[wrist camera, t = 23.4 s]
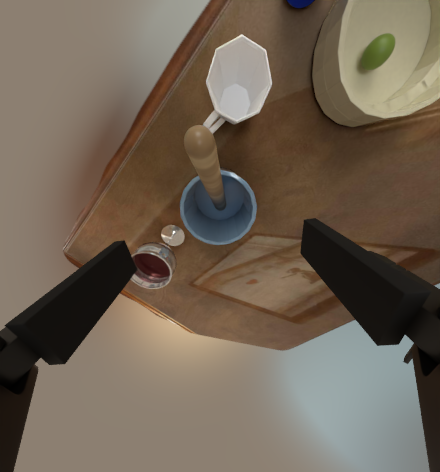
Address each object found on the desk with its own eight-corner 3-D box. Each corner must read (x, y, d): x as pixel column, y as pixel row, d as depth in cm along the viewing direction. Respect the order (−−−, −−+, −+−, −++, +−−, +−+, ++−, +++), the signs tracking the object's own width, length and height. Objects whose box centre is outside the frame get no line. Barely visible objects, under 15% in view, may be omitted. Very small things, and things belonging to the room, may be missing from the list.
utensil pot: (187, 171, 28) (170, 176, 19) (244, 163, 27) (255, 164, 18) (198, 223, 32) (188, 248, 23) (247, 217, 31) (258, 240, 22)
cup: (266, 107, 24) (286, 83, 16) (219, 158, 27) (217, 157, 19) (236, 61, 22) (243, 10, 14) (188, 122, 25) (174, 106, 17)
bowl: (318, -28, 18) (359, -109, 13) (472, -63, 17) (589, -168, 12) (304, 134, 25) (327, 127, 20) (413, 118, 24) (469, 105, 18)
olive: (406, 35, 18) (398, 46, 17) (379, 68, 21) (371, 79, 20) (383, 23, 19) (374, 34, 18) (360, 57, 21) (351, 68, 21)
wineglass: (167, 253, 35) (142, 294, 24) (150, 227, 33) (114, 260, 22) (194, 243, 34) (180, 281, 23) (179, 215, 31) (155, 244, 21)
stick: (214, 201, 30) (176, 120, 10) (225, 199, 30) (210, 113, 10) (216, 212, 30) (181, 153, 10) (227, 210, 29) (215, 146, 10)
